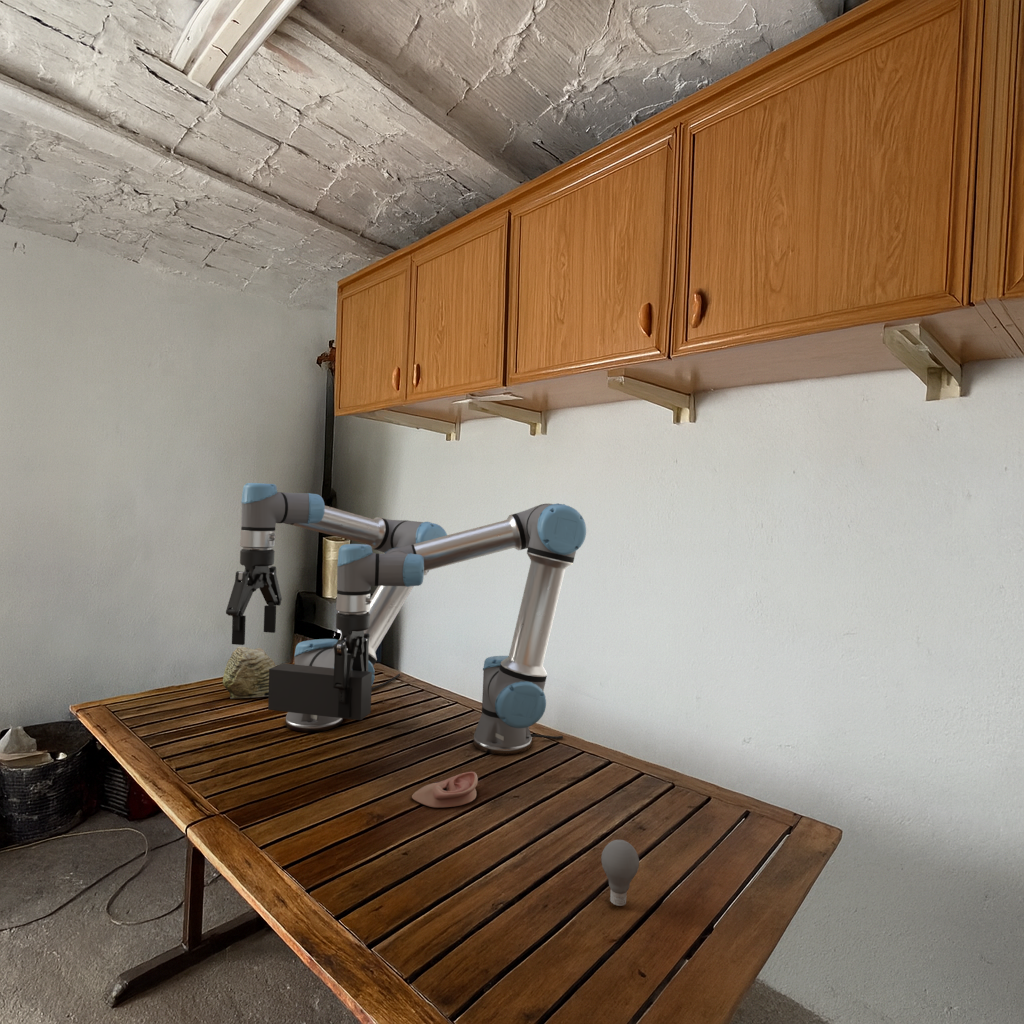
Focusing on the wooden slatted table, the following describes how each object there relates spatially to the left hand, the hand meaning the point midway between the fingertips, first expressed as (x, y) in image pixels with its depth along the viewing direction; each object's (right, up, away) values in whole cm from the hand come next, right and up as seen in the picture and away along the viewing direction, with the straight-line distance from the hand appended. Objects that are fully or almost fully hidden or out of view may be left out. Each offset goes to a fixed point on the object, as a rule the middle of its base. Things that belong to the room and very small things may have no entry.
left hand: (254, 638), depth 150 cm
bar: (+16, -16, -3) cm, 23 cm away
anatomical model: (+47, -32, -14) cm, 58 cm away
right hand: (+24, -16, -4) cm, 29 cm away
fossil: (-20, -27, +48) cm, 59 cm away
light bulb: (+78, -34, -48) cm, 97 cm away
